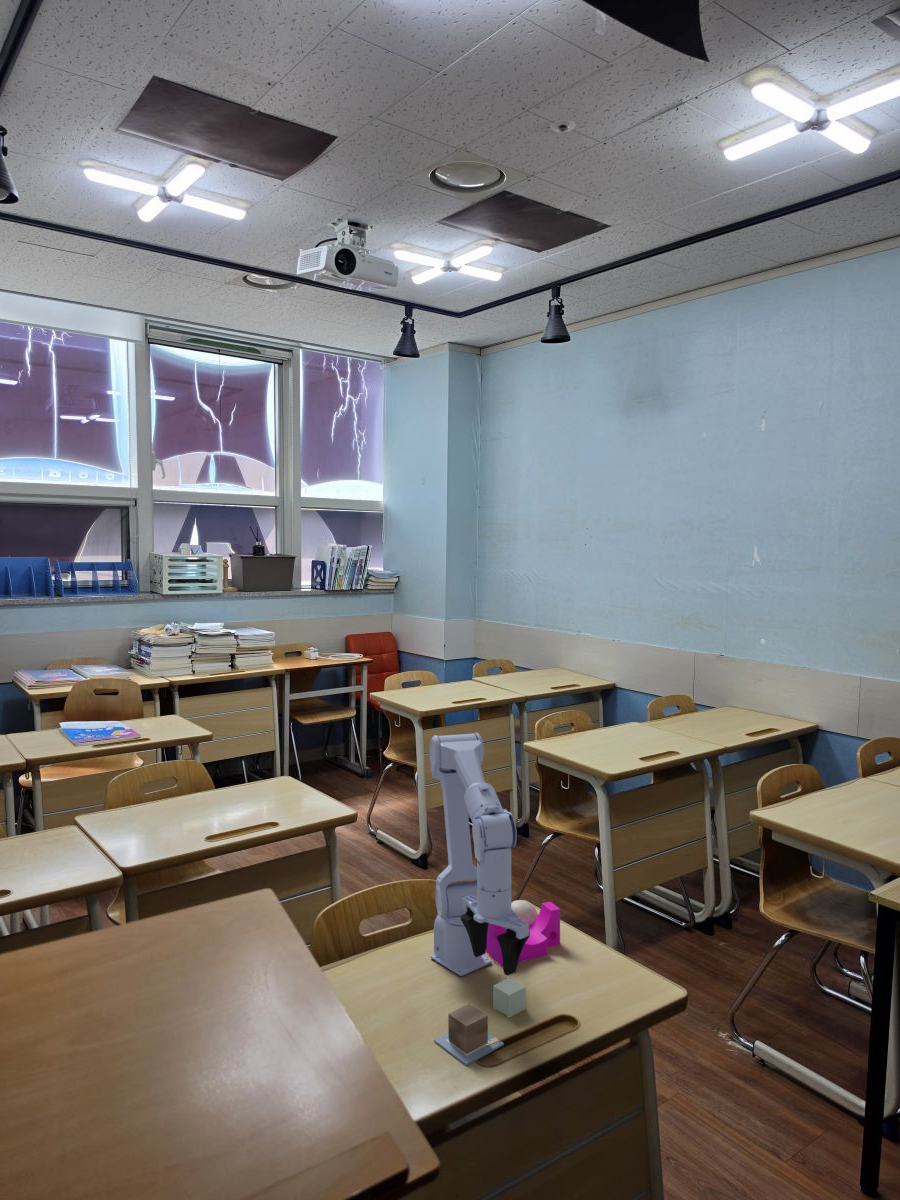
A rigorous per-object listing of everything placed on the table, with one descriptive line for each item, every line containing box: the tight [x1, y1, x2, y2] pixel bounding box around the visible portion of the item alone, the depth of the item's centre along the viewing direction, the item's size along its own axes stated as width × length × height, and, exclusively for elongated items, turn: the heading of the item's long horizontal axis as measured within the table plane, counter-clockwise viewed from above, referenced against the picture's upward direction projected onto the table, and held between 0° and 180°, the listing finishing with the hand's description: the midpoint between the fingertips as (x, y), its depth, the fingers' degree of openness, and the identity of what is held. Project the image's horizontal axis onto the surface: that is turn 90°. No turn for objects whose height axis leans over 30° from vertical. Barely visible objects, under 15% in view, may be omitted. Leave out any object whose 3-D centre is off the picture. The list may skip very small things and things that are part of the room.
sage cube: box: [492, 977, 527, 1018], centre depth 137 cm, size 4×4×4 cm
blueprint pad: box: [433, 1032, 505, 1066], centre depth 128 cm, size 8×8×1 cm
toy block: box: [486, 901, 561, 968], centre depth 157 cm, size 15×6×8 cm, turn 115°
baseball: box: [511, 899, 539, 926], centre depth 165 cm, size 7×7×7 cm
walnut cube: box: [447, 1003, 489, 1054], centre depth 127 cm, size 4×4×4 cm
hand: (494, 963), depth 134 cm, fingers open, 7 cm apart
